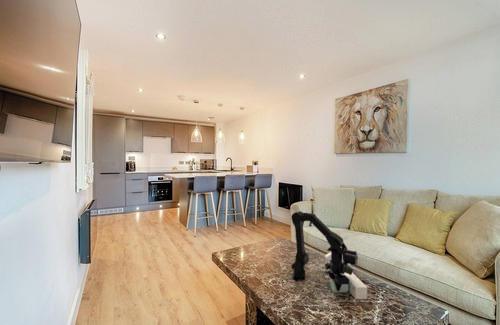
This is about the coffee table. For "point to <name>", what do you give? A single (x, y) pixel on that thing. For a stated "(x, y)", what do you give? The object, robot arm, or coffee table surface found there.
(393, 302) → the coffee table surface
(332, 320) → the coffee table surface
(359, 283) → the bar
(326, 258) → the cable organizer
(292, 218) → the robot arm
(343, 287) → the charger
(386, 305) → the coffee table surface
